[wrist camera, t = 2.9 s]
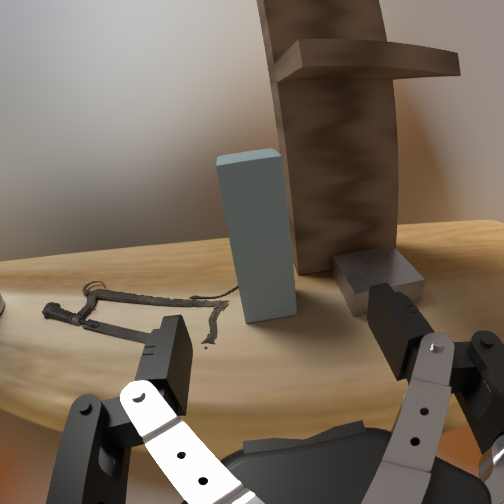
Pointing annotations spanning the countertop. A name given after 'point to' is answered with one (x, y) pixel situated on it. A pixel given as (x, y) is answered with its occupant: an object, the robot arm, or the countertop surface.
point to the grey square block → (375, 276)
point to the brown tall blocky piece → (339, 121)
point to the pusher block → (259, 232)
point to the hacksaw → (60, 314)
